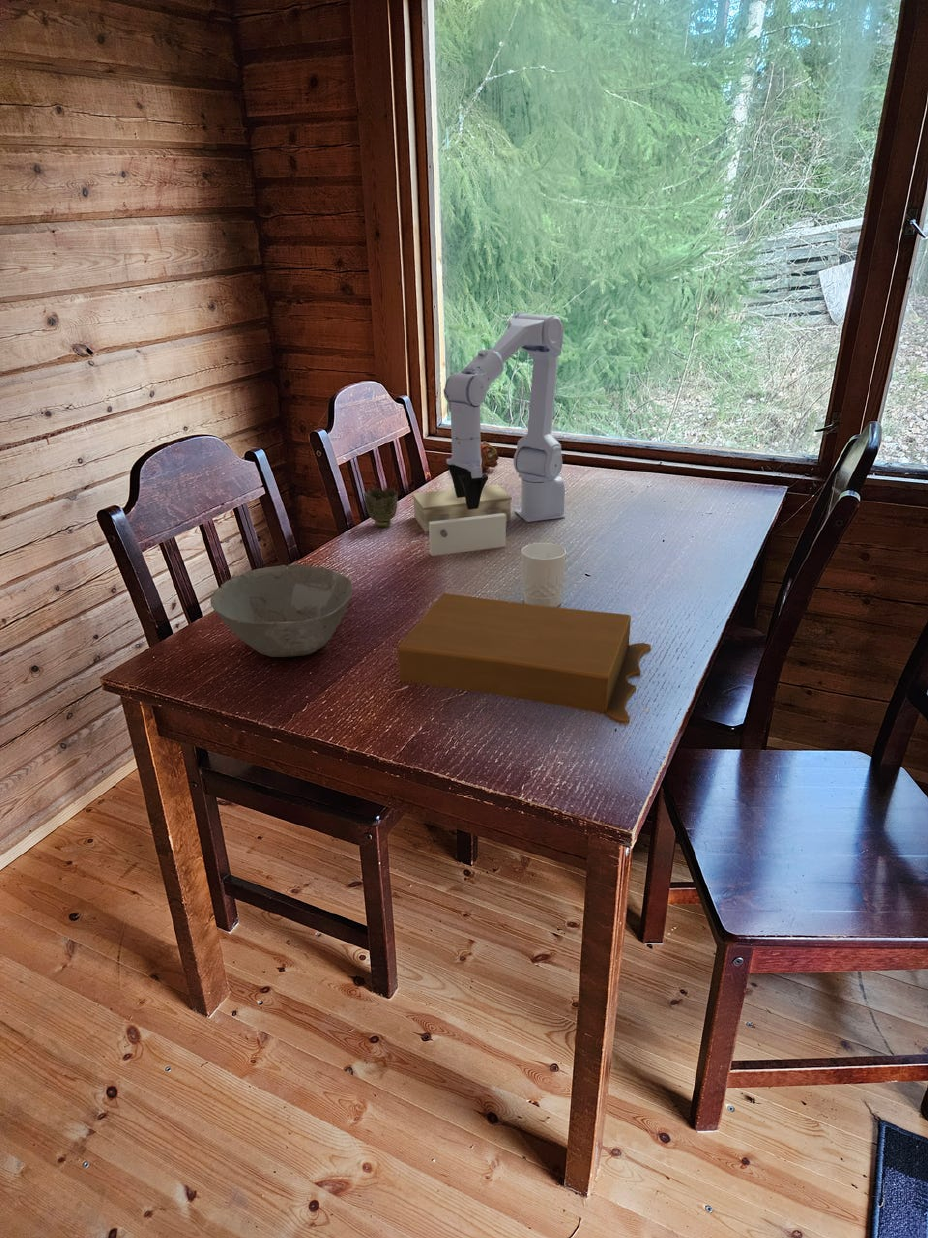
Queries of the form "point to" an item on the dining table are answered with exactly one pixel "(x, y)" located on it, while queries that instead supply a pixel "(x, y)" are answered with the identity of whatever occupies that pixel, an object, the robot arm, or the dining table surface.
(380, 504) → the cup
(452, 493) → the cabinet
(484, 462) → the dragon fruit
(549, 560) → the white cup
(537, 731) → the dining table surface
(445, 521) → the door
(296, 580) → the ceramic bowl
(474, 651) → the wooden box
